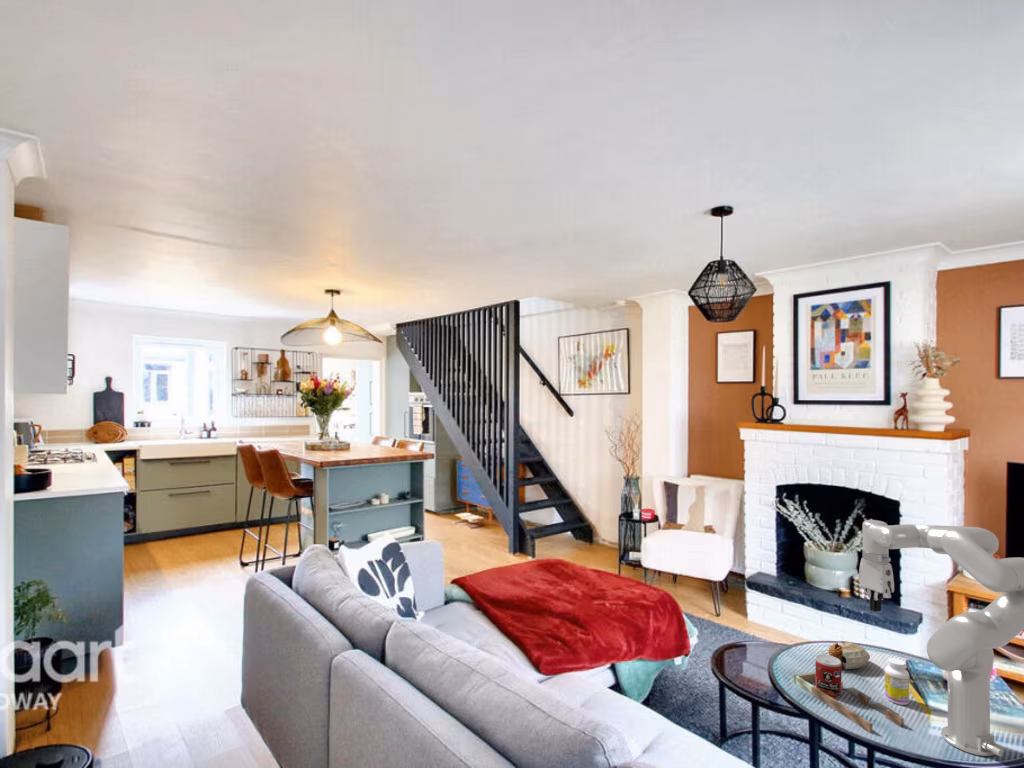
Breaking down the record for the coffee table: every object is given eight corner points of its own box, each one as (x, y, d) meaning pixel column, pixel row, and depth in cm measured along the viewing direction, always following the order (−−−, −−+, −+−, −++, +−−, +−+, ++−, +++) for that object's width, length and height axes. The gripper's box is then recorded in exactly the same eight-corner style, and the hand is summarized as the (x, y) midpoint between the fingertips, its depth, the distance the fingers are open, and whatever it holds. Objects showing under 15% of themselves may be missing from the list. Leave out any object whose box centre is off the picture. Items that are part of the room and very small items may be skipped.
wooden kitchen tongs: (914, 724, 169) (914, 716, 169) (869, 732, 165) (869, 724, 165) (833, 676, 198) (833, 669, 198) (793, 682, 194) (793, 675, 194)
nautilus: (832, 678, 198) (802, 661, 212) (882, 670, 202) (850, 653, 216) (830, 656, 198) (800, 640, 213) (880, 647, 202) (848, 632, 217)
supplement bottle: (887, 692, 188) (887, 654, 188) (911, 700, 183) (911, 661, 183) (882, 700, 183) (882, 661, 183) (907, 708, 178) (906, 668, 178)
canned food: (814, 693, 186) (814, 661, 186) (816, 683, 193) (816, 652, 193) (841, 700, 182) (841, 667, 182) (841, 690, 189) (841, 657, 189)
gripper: (904, 562, 184) (904, 617, 184) (864, 550, 199) (864, 601, 198) (886, 564, 182) (887, 620, 182) (848, 551, 197) (848, 603, 196)
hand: (875, 610), depth 190 cm, fingers closed
